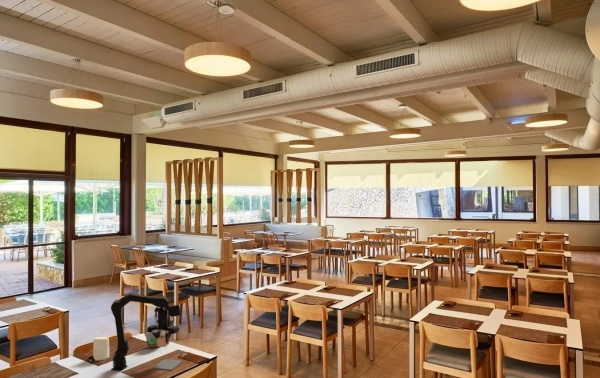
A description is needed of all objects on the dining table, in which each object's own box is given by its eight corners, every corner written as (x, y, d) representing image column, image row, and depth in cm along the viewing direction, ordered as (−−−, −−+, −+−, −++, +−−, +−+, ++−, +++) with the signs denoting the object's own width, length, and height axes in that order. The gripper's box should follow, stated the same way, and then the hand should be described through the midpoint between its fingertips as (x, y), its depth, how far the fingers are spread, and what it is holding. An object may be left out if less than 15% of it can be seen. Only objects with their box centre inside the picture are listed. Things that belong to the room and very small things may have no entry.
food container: (145, 350, 263) (144, 335, 263) (145, 347, 269) (144, 332, 269) (165, 347, 268) (164, 332, 268) (164, 344, 273) (164, 329, 273)
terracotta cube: (157, 346, 244) (157, 338, 244) (162, 343, 249) (161, 335, 249) (164, 347, 243) (164, 338, 243) (169, 343, 248) (169, 335, 248)
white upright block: (112, 354, 258) (111, 335, 258) (104, 360, 249) (103, 341, 249) (98, 354, 259) (98, 335, 259) (90, 360, 250) (89, 340, 250)
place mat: (153, 368, 237) (153, 367, 237) (165, 360, 248) (165, 359, 248) (171, 370, 234) (171, 369, 234) (182, 361, 245) (182, 360, 245)
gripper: (183, 314, 251) (184, 339, 251) (156, 312, 256) (157, 337, 256) (173, 320, 240) (174, 346, 240) (146, 318, 245) (146, 344, 245)
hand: (163, 343), depth 246 cm, fingers closed on terracotta cube, 5 cm apart
